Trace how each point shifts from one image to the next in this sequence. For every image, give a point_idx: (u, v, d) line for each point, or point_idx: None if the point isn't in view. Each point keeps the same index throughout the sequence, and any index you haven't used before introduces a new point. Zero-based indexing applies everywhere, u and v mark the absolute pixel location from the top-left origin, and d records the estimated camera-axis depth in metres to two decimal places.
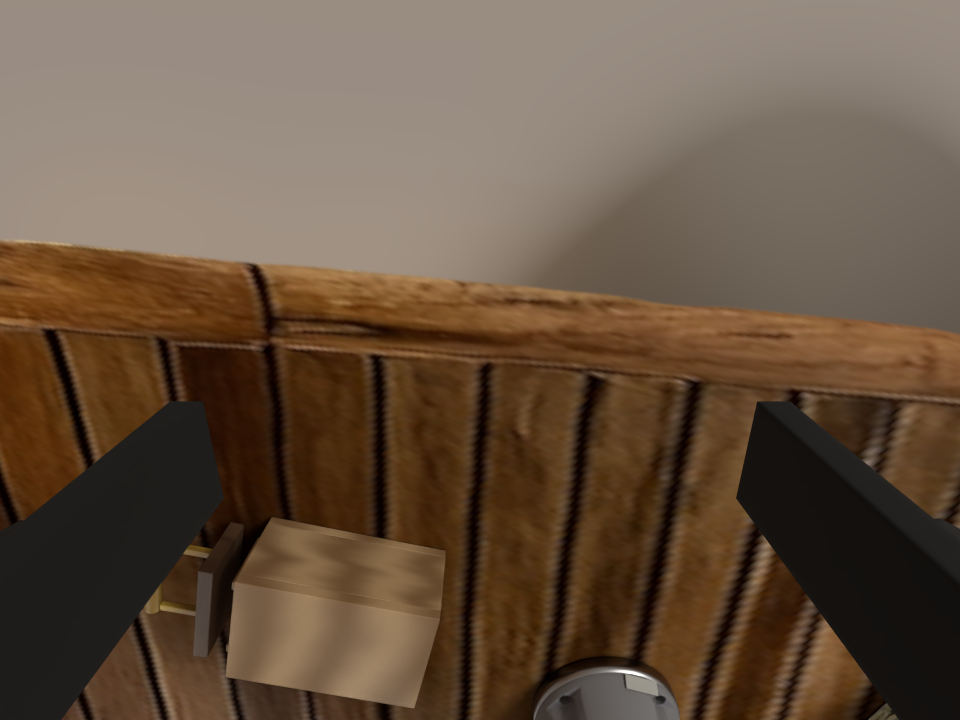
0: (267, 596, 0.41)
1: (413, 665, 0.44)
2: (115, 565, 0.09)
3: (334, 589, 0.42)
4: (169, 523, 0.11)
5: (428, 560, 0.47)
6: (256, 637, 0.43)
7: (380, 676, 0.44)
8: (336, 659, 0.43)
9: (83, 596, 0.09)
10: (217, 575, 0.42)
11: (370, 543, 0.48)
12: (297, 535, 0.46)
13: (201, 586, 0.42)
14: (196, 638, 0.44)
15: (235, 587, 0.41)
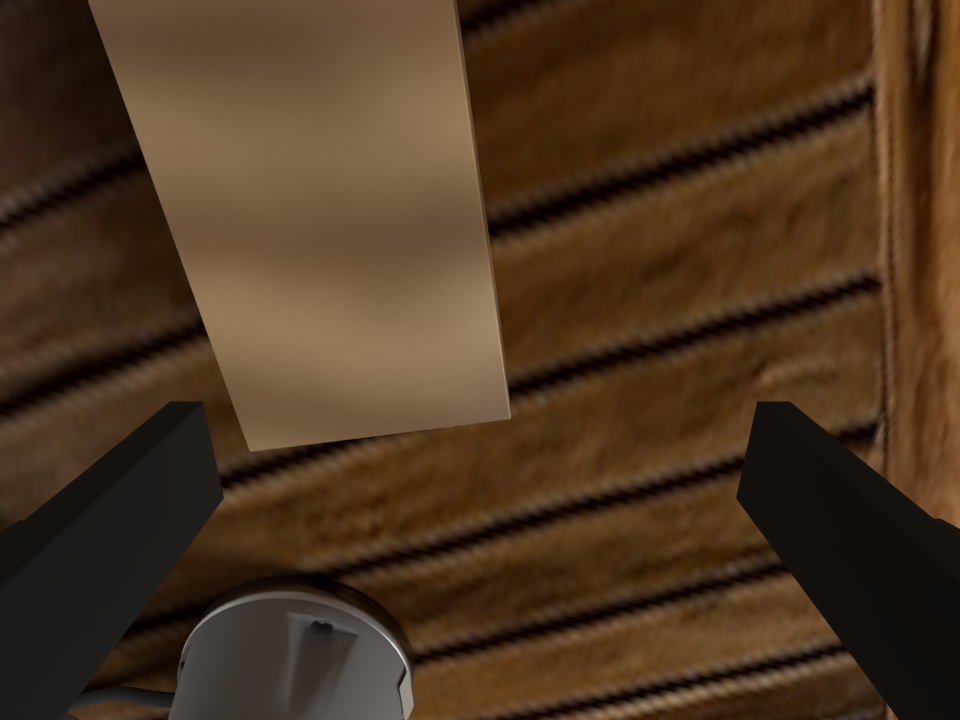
0: (429, 23, 0.16)
1: (367, 413, 0.21)
2: (116, 565, 0.09)
3: (479, 187, 0.18)
4: (169, 523, 0.11)
5: (501, 332, 0.26)
6: (275, 32, 0.16)
7: (303, 362, 0.20)
8: (302, 255, 0.18)
9: (83, 596, 0.09)
10: None
11: None
12: (464, 61, 0.21)
13: None
14: None
15: None
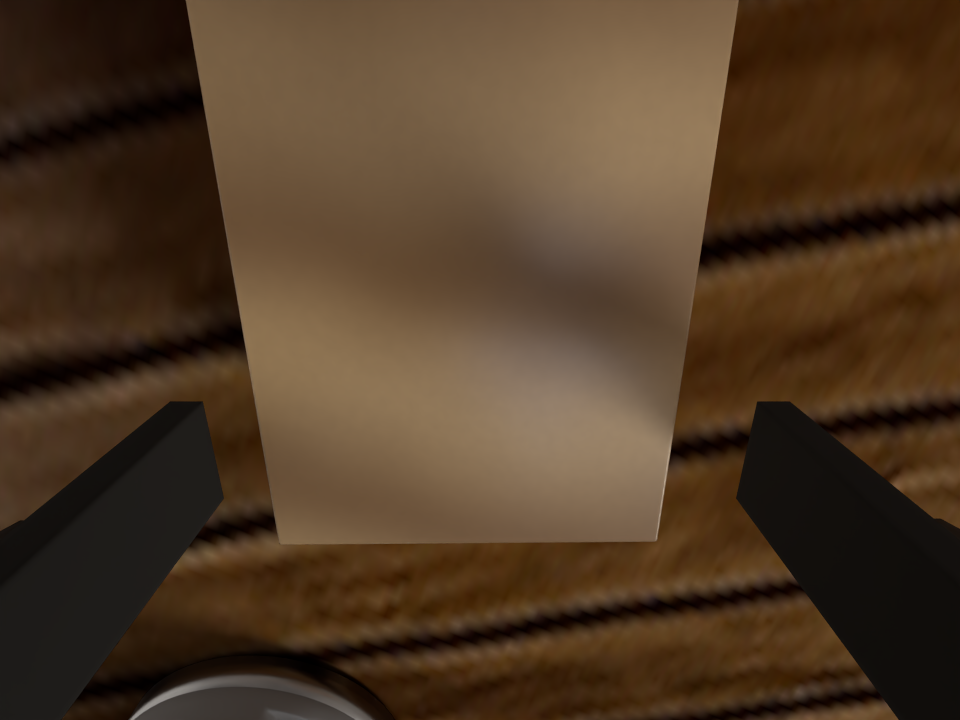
0: None
1: (461, 512, 0.14)
2: (115, 565, 0.09)
3: None
4: (169, 523, 0.11)
5: None
6: None
7: (386, 435, 0.14)
8: (419, 285, 0.12)
9: (83, 596, 0.09)
10: None
11: None
12: None
13: None
14: None
15: None
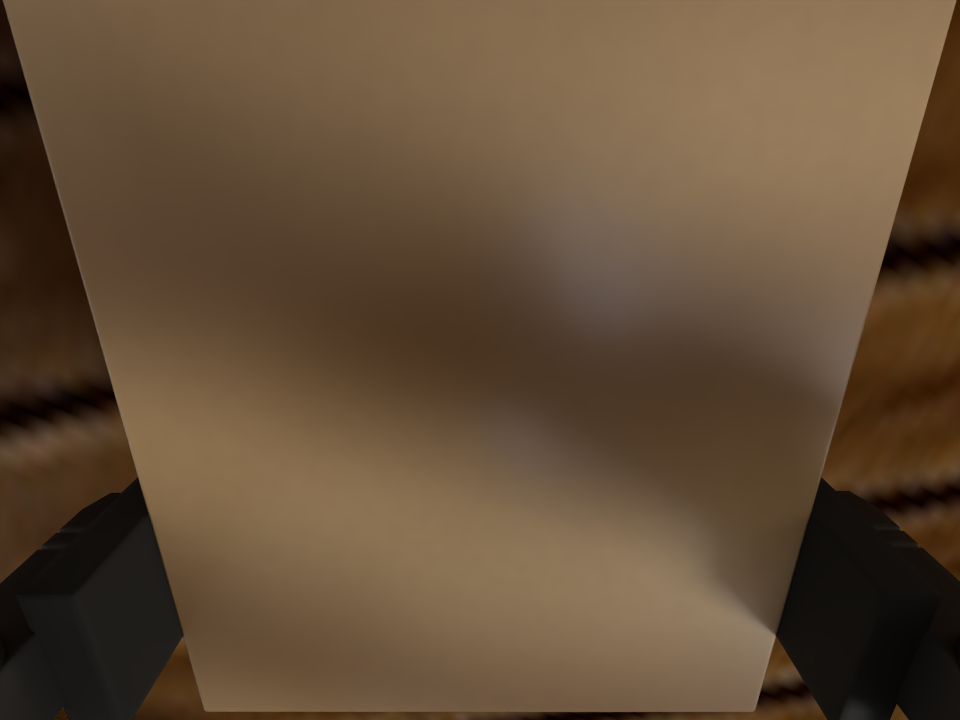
0: None
1: (469, 674, 0.10)
2: None
3: None
4: None
5: None
6: None
7: (355, 572, 0.09)
8: (402, 356, 0.07)
9: None
10: None
11: None
12: None
13: None
14: None
15: None
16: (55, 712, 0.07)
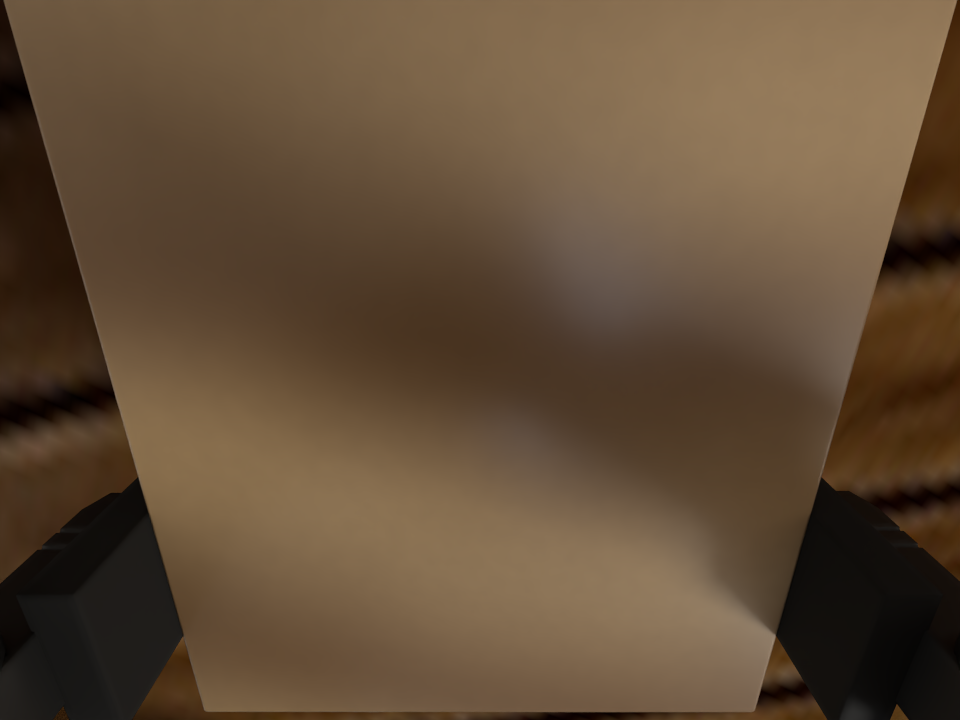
0: None
1: (469, 674, 0.10)
2: None
3: None
4: None
5: None
6: None
7: (355, 572, 0.09)
8: (402, 356, 0.07)
9: None
10: None
11: None
12: None
13: None
14: None
15: None
16: (56, 710, 0.07)
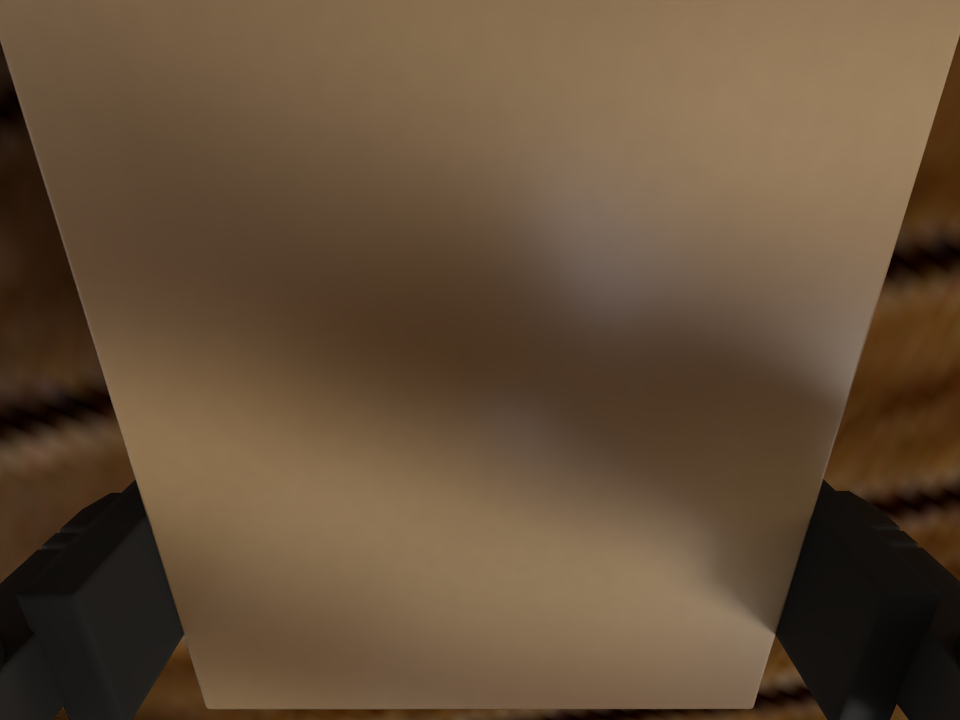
0: None
1: (469, 672, 0.10)
2: None
3: None
4: None
5: None
6: None
7: (354, 574, 0.09)
8: (401, 360, 0.07)
9: None
10: None
11: None
12: None
13: None
14: None
15: None
16: (55, 711, 0.07)
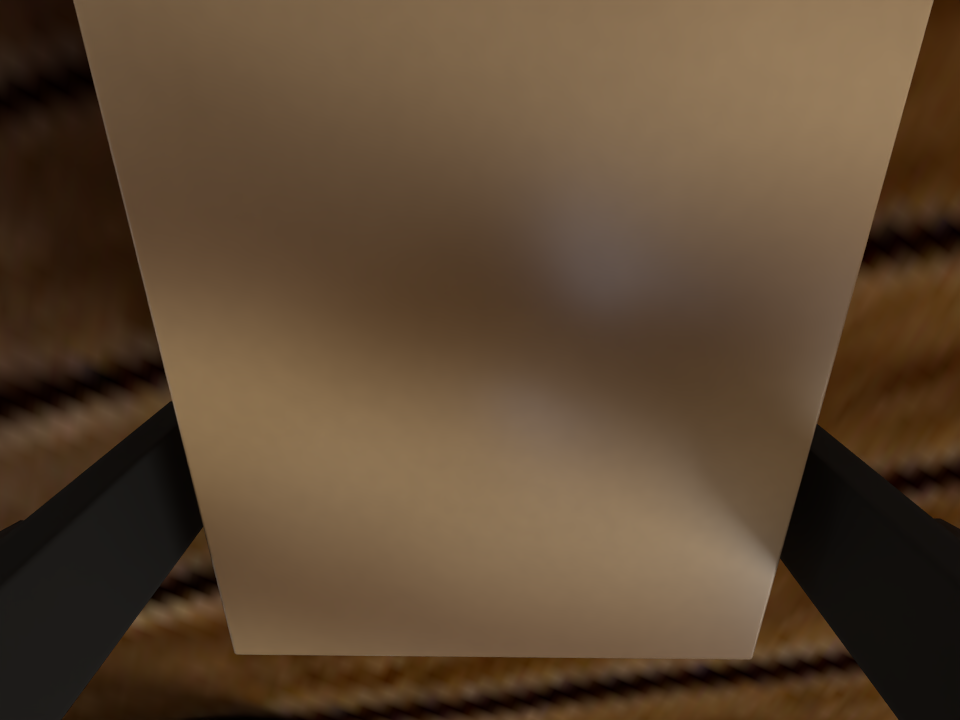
0: None
1: (483, 620, 0.10)
2: (116, 566, 0.09)
3: None
4: (169, 523, 0.11)
5: None
6: None
7: (377, 519, 0.10)
8: (425, 312, 0.08)
9: (84, 596, 0.09)
10: None
11: None
12: None
13: None
14: None
15: None
16: None
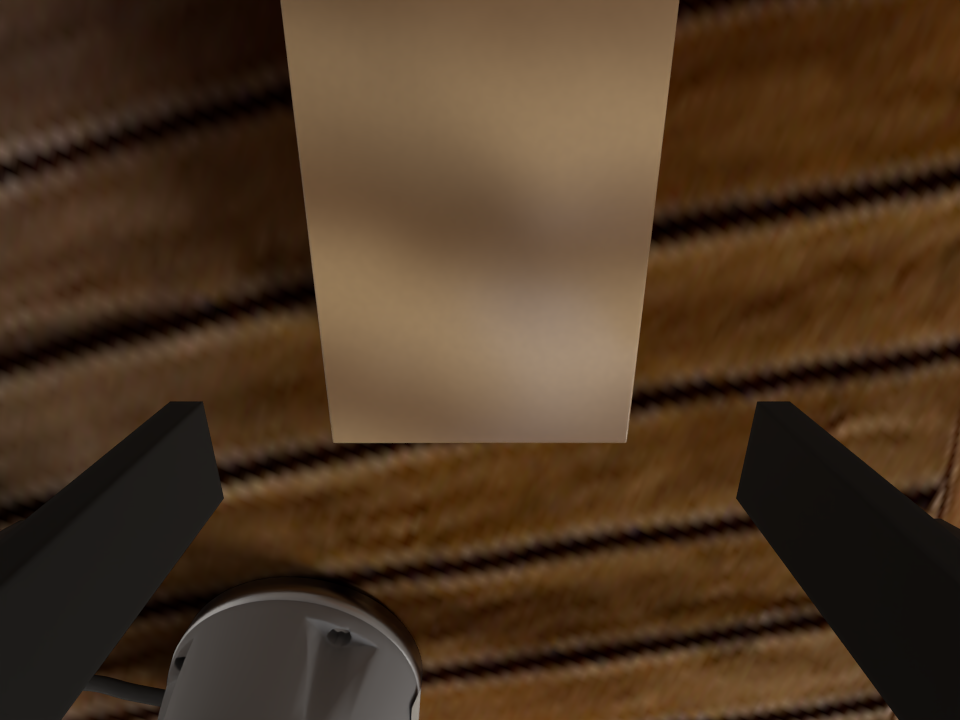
0: (650, 1, 0.14)
1: (474, 417, 0.19)
2: (116, 566, 0.09)
3: None
4: (169, 523, 0.11)
5: None
6: None
7: (417, 353, 0.18)
8: (444, 235, 0.16)
9: (83, 596, 0.09)
10: None
11: None
12: None
13: None
14: None
15: None
16: None
